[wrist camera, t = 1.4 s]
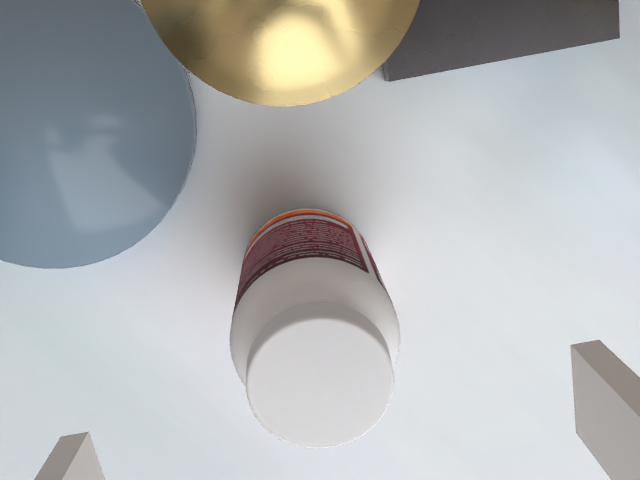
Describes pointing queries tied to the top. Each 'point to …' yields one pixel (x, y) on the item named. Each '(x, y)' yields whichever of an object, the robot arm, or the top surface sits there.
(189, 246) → the top surface
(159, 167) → the dish
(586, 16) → the balance
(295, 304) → the pill bottle
